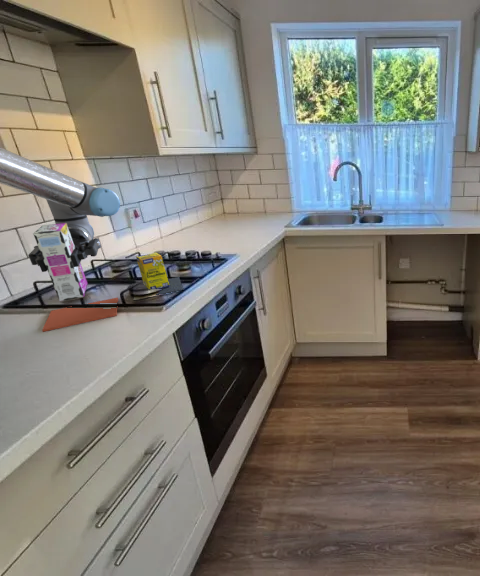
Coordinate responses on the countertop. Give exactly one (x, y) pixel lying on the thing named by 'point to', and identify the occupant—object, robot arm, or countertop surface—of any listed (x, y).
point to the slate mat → (172, 286)
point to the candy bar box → (61, 261)
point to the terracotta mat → (78, 315)
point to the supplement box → (153, 271)
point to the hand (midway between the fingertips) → (58, 263)
